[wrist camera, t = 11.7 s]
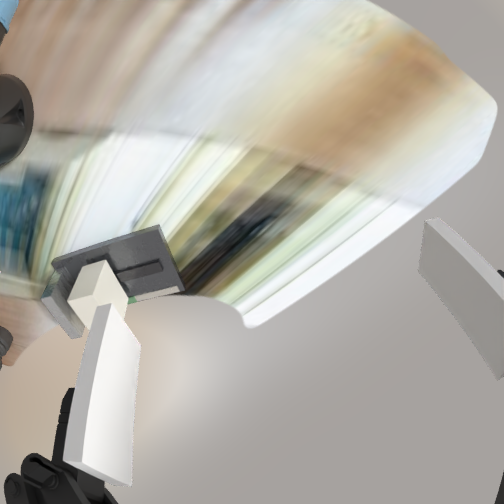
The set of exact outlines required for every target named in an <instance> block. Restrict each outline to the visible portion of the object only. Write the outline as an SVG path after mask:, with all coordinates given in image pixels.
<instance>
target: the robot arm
mask: <svg viewBox="0 0 504 504" xmlns="http://www.w3.org/2000/svg"><path fill="white" fill-rule="evenodd" d="M18 2H19V1H18V0H0V45H1V43H2V41H3V38H4V36H5V34H7V33H8V31H9V25H10V22H11V20H12V18H13V16H14V13H15V11H16V9H17V7H18ZM33 118H34V111H33V103H32V99H31V96H30V93H29V91H28V89H27V87H26V86H25V84H24V83H23V82H22V81H21V80H20V79H19V78H17V77H15V76H13V75H10V74H1V75H0V166H1V165H4V164H6V163H8V162H9V161H11V160H12V159H14V158H15V157H17V156H18V155H19V154H20V153H21V151H22V150H23V149H24V147H25V146H26V144H27V142H28V140H29V137H30V135H31V131H32V126H33ZM418 272H419V273H420V274H421V275H422V277H423V278H424V279H425V280H426V282H427V283H428V284H429V285H430V286H431V288H432V289H433V290H434V291H435V293H436V294H437V295H438V297H439V298H440V299H441V300H442V302H443V303H444V304H445V306H446V307H447V308H448V310H449V311H450V312H451V314H452V315H453V316H454V317H455V319H456V320H457V321H458V323H459V324H460V326H461V327H462V328H463V330H464V331H465V332H466V334H467V335H468V337H469V338H470V340H471V341H472V343H473V344H474V345H475V347H476V348H477V350H478V351H479V353H480V354H481V356H482V357H483V359H484V360H485V362H486V363H487V365H488V367H489V368H490V370H491V371H492V373H493V374H494V376H495V378H496V379H497V380H499V379H500V378H502V377H504V272H503V271H502V270H498V271H496V270H495V269H494V268H493V267H492V266H491V265H490V264H489V263H488V262H487V261H486V260H485V259H484V258H483V257H482V256H481V255H480V254H479V253H478V252H477V251H476V250H475V249H474V248H473V247H471V246H470V245H469V244H468V243H467V242H466V241H465V240H464V239H463V238H462V237H461V236H460V235H458V234H457V233H456V232H455V231H454V230H453V229H452V228H451V227H449V226H448V225H447V224H446V223H445V222H444V221H443V220H441V219H440V218H439V217H435V218H432V219H428V220H425V223H424V231H423V240H422V247H421V254H420V261H419V267H418ZM140 352H141V344H140V343H139V341H138V340H137V339H136V337H135V336H134V335H133V333H132V332H131V330H130V329H129V327H128V326H127V325H126V323H125V322H124V320H123V319H122V317H121V316H120V314H119V313H118V311H117V310H116V308H115V307H114V305H113V304H112V303H109V304H105V305H101V306H97V308H96V311H95V314H94V317H93V321H92V324H91V327H90V331H89V335H88V338H87V341H86V345H85V349H84V353H83V357H82V360H81V365H80V368H79V373H78V377H77V381H76V386H75V388H69V389H68V391H67V393H66V394H65V396H64V398H63V400H62V405H61V409H60V413H61V414H60V415H59V420H58V422H59V424H58V425H57V430H56V436H55V442H54V449H53V456H52V461H50V460H48V459H46V458H44V457H43V456H41V455H39V454H38V453H31V454H30V455H28V456H26V458H25V459H24V460H23V463H22V465H21V476H20V475H18V474H16V473H12V474H10V475H8V476H7V478H6V480H5V483H4V493H5V498H6V503H7V504H118V503H117V501H116V500H115V499H114V497H113V496H112V495H111V493H110V492H109V491H108V490H107V489H106V488H105V487H104V482H107V483H109V484H111V485H114V486H130V487H132V457H133V432H134V415H135V402H136V390H137V380H138V369H139V360H140ZM495 504H504V472H503V477H502V480H501V484H500V487H499V491H498V494H497V498H496V501H495Z"/></svg>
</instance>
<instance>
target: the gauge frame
mask: <svg viewBox="0 0 504 504" xmlns="http://www.w3.org/2000/svg"><path fill="white" fill-rule="evenodd" d="M102 260H107V262H108V264H109V266H110V268H111V269H112V271H113V273H114V275H115V276H116V278H117V280H118V282H119V283H120V285H121V287H122V289H123V290H124V292H125V294H126V295H127V297H128V303H127V304H131V303H135V302H139V301H143V300H147V299H151V298H155V297H160V296H164V295H168V294H172V293H176V292H180V291H184V290H185V283H184V281H183V279H182V276H181V274H180V272H179V270H178V267H177V265H176V263H175V261H174V258H173V256H172V254H171V251H170V249H169V247H168V244H167V242H166V240H165V237H164V235H163V233H162V230H161V228H160V225H156V226H152V227H149V228H146V229H143V230H139V231H136V232H133V233H130V234H126V235H123V236H120V237H117V238H114V239H111V240H108V241H105V242H102V243H98V244H95V245H92V246H89V247H86V248H83V249H81V250H78V251H75V252H72V253H69V254H66V255H63V256H60V257H57V258H55V259H54V260H53V262H52V265H53V266H54V268H55V272H54V274H53V275H52V277H51V279H50V281H49V283H48V285H47V287H46V289H45V291H44V293H43V295H42V297H41V301H42V302H43V303H44V305H45V306H46V307H47V309H48V310H49V311H50V313H51V314H52V315H53V317H54V318H55V319H56V321H57V322H58V323H59V324H60V326H61V327H62V328H63V329H64V331H65V332H66V333H67V334H68V336H69V337H70V338H71V339H74V338H80V337H82V334H83V330H84V327H85V325H84V324H83V322H82V321H81V320H80V318H79V317H78V316H77V314H76V313H75V311H74V310H73V309H72V307H71V306H70V304H69V303H68V302H67V300H68V298H69V296H70V293H71V291H72V289H73V286H74V284H75V282H76V280H77V277H78V275H79V273H80V271H81V269H82V267H83V266H86V265H89V264H92V263H96V262H99V261H102Z"/></svg>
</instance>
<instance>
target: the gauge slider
mask: <svg viewBox="0 0 504 504" xmlns="http://www.w3.org/2000/svg"><path fill="white" fill-rule="evenodd" d="M67 302H68V303H69V304H70V306H71V307H72V309H73V310H74V311H75V313H76V314H77V316H78V317H79V318H80V320H81V321H82V322H83V324H84V325H85V326H86V327H87V329H88V330H89V331H90V327H91V324H92V321H93V317H94V314H95V311H96V308H97V306H101V305H105V304H109V303H112V304H113V305H114V307H115V308H116V310H117V311H118V313H119V314H120V316H121V317H122V319H123V320H124V316H125V311H126V308H127V303H128V297H127V295H126V294H125V292H124V290H123V289H122V287H121V285H120V283H119V282H118V280H117V278H116V276H115V275H114V273H113V271H112V269H111V268H110V266H109V264H108V262H107V260H102V261H99V262H96V263H92V264H89V265H86V266H83V267H82V269H81V271H80V273H79V275H78V277H77V280H76V282H75V284H74V286H73V289H72V291H71V293H70V296H69V298H68V300H67Z"/></svg>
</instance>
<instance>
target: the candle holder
mask: <svg viewBox="0 0 504 504" xmlns="http://www.w3.org/2000/svg"><path fill="white" fill-rule="evenodd" d="M12 341H13V337H12V335H11V334H10V332H9V331H8V330H6V329H5V328H3V327H1V326H0V369H1V368H2V361H1V359H2V356H3V355H6V353H7V351H8V350H9V348H10V346H11V343H12Z"/></svg>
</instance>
